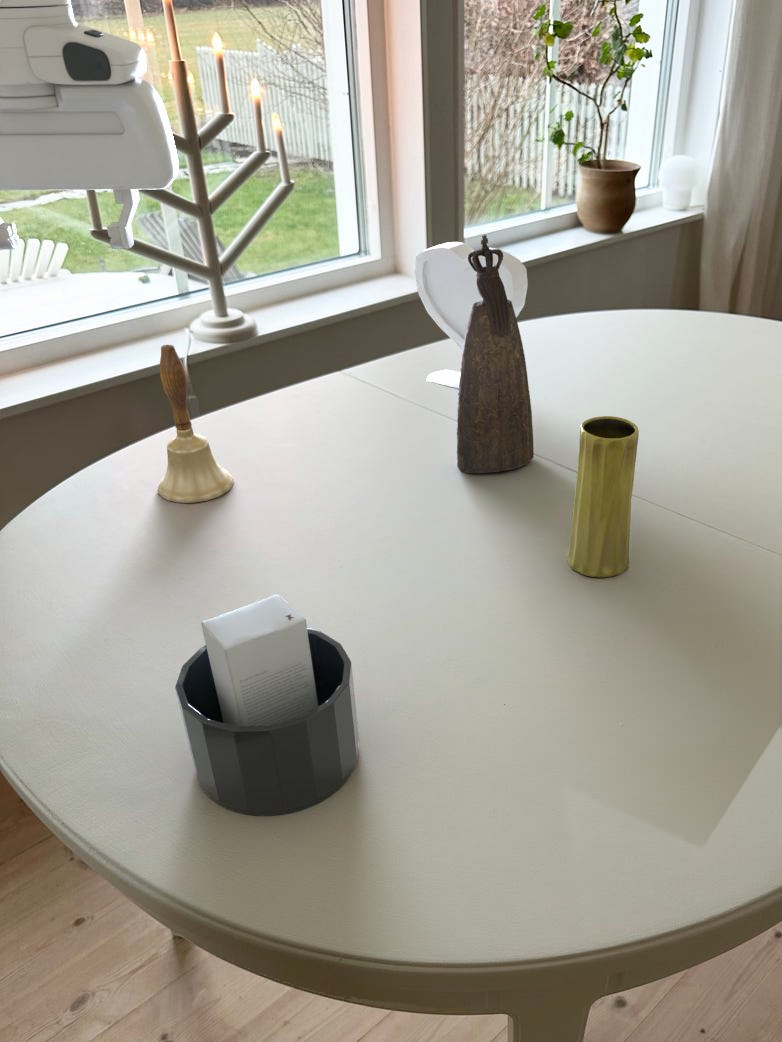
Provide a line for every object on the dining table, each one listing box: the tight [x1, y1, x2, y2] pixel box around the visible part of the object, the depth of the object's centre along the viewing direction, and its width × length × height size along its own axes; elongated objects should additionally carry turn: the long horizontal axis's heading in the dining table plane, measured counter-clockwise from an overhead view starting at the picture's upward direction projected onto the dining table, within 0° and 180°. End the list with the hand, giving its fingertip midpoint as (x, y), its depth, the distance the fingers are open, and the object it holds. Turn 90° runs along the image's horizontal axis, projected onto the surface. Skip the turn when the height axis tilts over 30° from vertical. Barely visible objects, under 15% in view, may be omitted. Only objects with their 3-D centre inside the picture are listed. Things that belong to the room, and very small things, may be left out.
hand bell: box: [157, 343, 235, 504], centre depth 103 cm, size 8×8×16 cm
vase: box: [566, 415, 640, 579], centre depth 90 cm, size 6×6×14 cm
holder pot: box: [174, 627, 360, 817], centre depth 69 cm, size 12×12×8 cm
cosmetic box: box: [201, 593, 318, 726], centre depth 68 cm, size 6×4×12 cm
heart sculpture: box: [414, 241, 529, 390], centre depth 128 cm, size 16×5×18 cm, turn 56°
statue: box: [456, 234, 535, 475], centre depth 105 cm, size 9×8×25 cm
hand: (65, 247), depth 79 cm, fingers open, 8 cm apart
